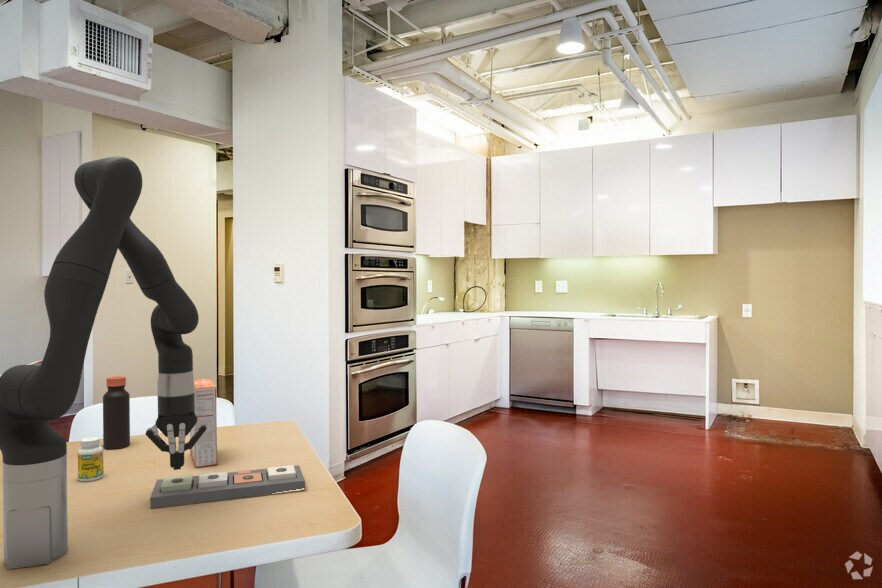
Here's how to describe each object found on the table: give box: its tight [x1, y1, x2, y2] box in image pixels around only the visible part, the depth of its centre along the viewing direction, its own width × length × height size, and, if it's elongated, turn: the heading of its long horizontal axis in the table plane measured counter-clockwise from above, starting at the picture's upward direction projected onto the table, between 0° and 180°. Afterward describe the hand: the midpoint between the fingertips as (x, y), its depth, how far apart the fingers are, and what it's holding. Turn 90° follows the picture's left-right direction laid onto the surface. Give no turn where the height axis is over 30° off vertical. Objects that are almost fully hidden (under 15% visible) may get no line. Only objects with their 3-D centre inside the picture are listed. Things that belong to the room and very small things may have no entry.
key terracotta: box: [234, 472, 262, 485], centre depth 137 cm, size 6×6×2 cm
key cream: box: [266, 464, 296, 481], centre depth 139 cm, size 6×6×2 cm
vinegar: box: [102, 375, 131, 450], centre depth 171 cm, size 7×7×20 cm
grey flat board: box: [149, 464, 306, 509], centre depth 135 cm, size 12×32×2 cm, turn 110°
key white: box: [198, 471, 228, 488], centre depth 134 cm, size 6×6×2 cm
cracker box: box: [189, 378, 218, 469], centre depth 158 cm, size 14×6×21 cm, turn 27°
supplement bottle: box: [77, 436, 105, 482], centre depth 143 cm, size 5×5×10 cm
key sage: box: [161, 475, 194, 492], centre depth 132 cm, size 6×6×2 cm
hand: (177, 468), depth 132 cm, fingers closed
